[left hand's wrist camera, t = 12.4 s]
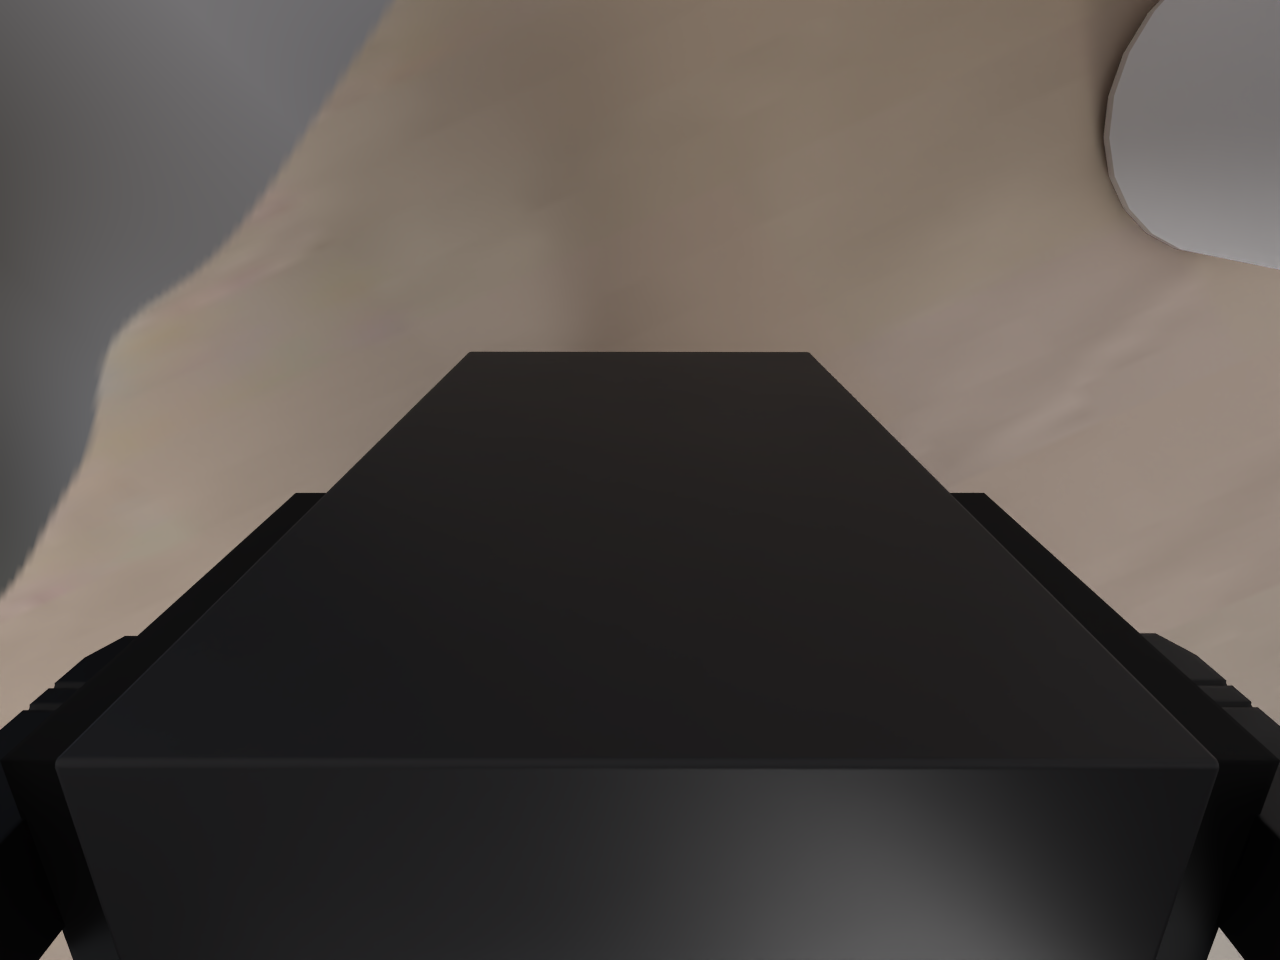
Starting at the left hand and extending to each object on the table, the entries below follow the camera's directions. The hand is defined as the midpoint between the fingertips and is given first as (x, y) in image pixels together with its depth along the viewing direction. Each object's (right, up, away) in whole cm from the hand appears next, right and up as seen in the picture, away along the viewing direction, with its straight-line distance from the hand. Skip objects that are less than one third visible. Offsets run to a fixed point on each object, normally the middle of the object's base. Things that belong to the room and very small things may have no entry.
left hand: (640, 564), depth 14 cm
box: (0, -8, +7) cm, 11 cm away
